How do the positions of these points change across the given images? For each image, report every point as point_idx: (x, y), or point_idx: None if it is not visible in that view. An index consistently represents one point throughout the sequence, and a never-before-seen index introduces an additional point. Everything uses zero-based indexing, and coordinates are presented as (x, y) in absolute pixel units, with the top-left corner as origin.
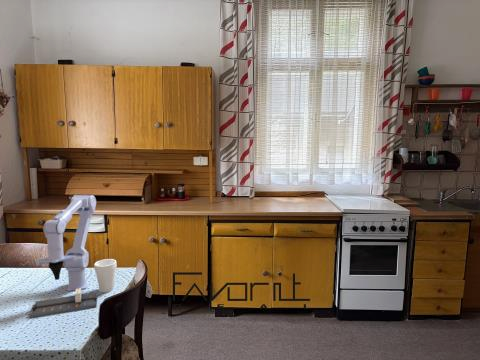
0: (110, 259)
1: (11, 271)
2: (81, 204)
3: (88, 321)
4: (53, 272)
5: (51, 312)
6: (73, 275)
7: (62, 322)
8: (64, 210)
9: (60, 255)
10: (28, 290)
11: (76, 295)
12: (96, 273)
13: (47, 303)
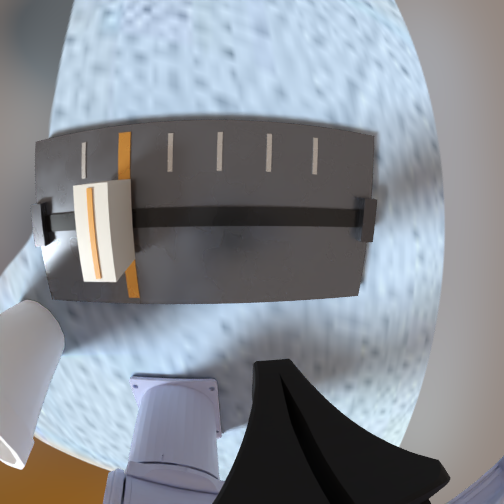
0: None
1: None
2: None
3: (90, 16)
4: (339, 419)
5: (269, 123)
6: (179, 444)
7: (201, 24)
8: None
9: None
10: (365, 404)
11: (103, 182)
12: (14, 384)
13: (304, 248)
